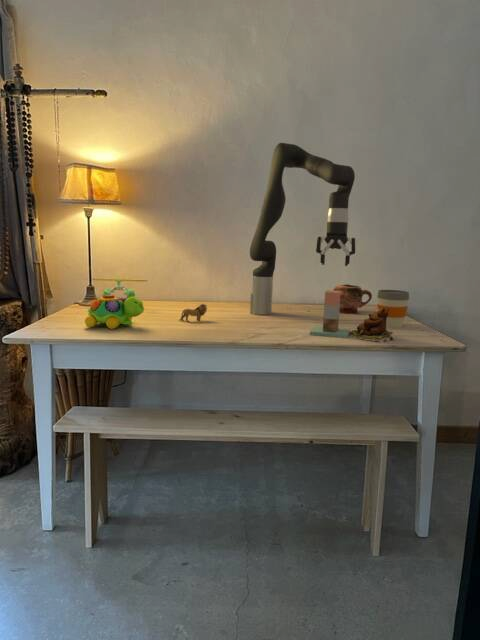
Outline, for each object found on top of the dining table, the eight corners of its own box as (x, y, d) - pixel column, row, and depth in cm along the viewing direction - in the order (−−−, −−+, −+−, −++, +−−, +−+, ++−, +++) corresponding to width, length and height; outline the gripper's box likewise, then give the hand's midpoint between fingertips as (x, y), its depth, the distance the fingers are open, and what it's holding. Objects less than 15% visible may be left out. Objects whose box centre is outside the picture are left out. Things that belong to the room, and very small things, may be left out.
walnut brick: (322, 331, 183) (323, 318, 182) (325, 328, 190) (326, 315, 189) (336, 332, 182) (336, 319, 181) (338, 329, 188) (338, 316, 188)
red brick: (324, 305, 182) (325, 292, 181) (326, 302, 188) (327, 290, 187) (337, 306, 180) (338, 292, 179) (339, 303, 187) (340, 290, 186)
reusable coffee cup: (390, 331, 194) (393, 293, 191) (368, 325, 205) (371, 290, 202) (412, 328, 200) (416, 292, 197) (390, 323, 211) (393, 289, 208)
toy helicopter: (148, 308, 231) (148, 278, 228) (145, 311, 222) (145, 280, 219) (95, 307, 229) (94, 276, 226) (90, 310, 220) (89, 278, 218)
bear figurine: (365, 332, 191) (368, 301, 189) (400, 339, 180) (403, 307, 178) (344, 336, 182) (347, 304, 180) (379, 344, 171) (382, 310, 169)
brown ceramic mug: (365, 312, 239) (367, 284, 236) (374, 316, 227) (376, 287, 224) (325, 311, 237) (327, 283, 234) (332, 316, 225) (334, 286, 222)
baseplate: (309, 334, 182) (309, 331, 182) (314, 328, 194) (314, 325, 194) (347, 338, 178) (347, 334, 178) (350, 331, 190) (350, 328, 189)
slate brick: (323, 318, 182) (324, 305, 182) (326, 315, 189) (326, 302, 188) (336, 319, 181) (337, 306, 180) (338, 316, 188) (339, 303, 187)
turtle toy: (135, 331, 180) (134, 300, 178) (77, 327, 184) (76, 296, 182) (151, 323, 197) (151, 294, 195) (98, 319, 201) (97, 291, 199)
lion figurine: (205, 320, 206) (205, 303, 205) (208, 321, 202) (208, 304, 201) (177, 321, 202) (177, 303, 201) (180, 322, 198) (180, 305, 197)
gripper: (316, 220, 177) (314, 264, 180) (356, 221, 173) (353, 266, 176) (319, 221, 184) (317, 263, 187) (358, 222, 180) (354, 265, 183)
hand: (334, 265), depth 181 cm, fingers open, 8 cm apart
